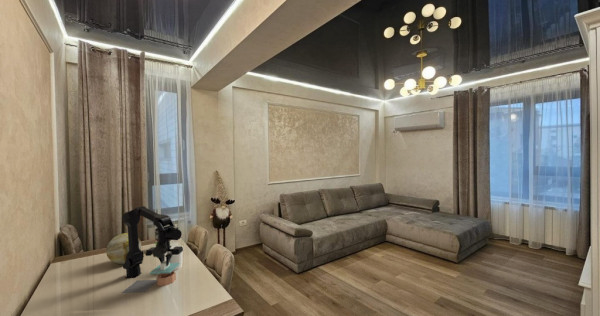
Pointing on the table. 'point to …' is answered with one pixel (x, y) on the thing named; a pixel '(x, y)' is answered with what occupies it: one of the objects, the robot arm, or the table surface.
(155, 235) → the coffee can
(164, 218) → the robot arm
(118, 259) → the decorative sphere
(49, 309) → the table surface
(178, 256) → the foam cup
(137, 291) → the mat
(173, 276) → the bowl
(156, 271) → the cover plate
